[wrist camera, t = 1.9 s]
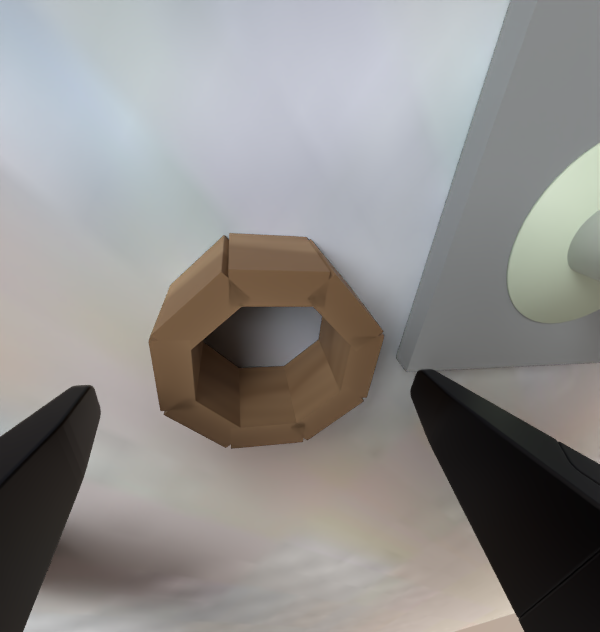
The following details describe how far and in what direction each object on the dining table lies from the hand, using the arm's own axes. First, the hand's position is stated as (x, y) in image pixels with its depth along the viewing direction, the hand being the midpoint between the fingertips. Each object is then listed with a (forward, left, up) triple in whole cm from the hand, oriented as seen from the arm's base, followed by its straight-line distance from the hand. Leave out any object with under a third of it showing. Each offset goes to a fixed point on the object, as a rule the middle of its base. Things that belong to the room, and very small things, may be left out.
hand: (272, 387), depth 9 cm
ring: (0, 0, -4) cm, 4 cm away
